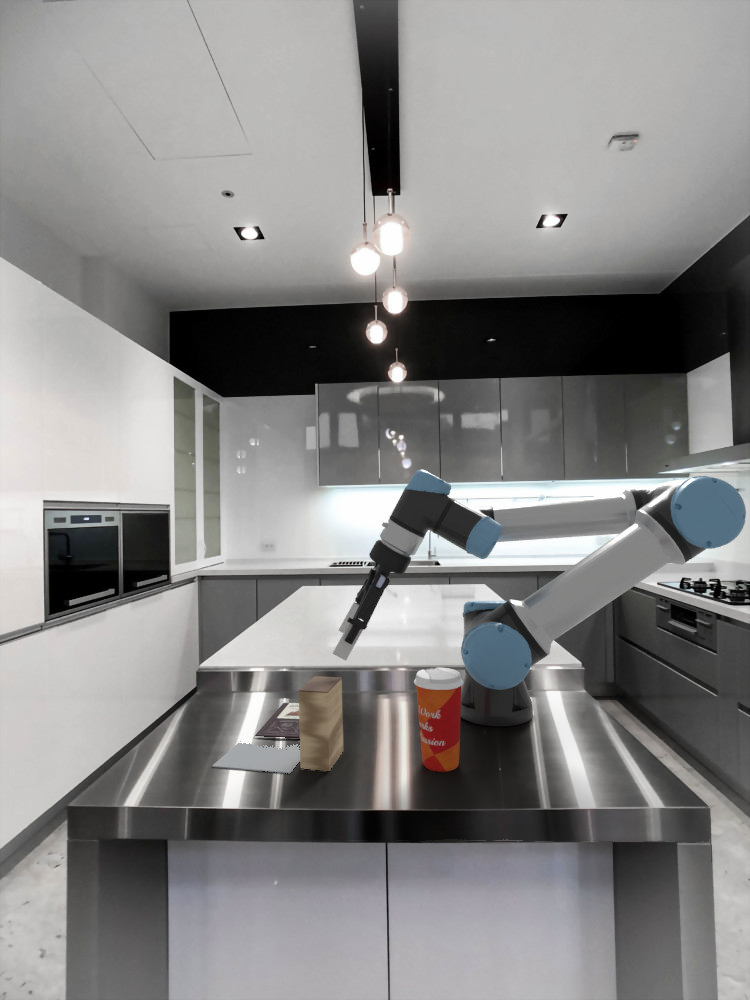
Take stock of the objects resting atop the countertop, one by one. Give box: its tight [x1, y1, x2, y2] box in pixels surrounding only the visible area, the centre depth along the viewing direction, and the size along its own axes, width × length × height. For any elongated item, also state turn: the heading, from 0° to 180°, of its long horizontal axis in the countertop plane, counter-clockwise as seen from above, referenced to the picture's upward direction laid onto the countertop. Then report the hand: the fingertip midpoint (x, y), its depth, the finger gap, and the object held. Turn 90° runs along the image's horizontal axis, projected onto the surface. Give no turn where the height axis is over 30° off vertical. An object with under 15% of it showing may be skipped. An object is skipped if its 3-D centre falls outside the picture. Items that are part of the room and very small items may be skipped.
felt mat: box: [211, 740, 300, 775], centre depth 101 cm, size 14×12×1 cm
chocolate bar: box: [254, 702, 300, 738], centre depth 117 cm, size 9×1×18 cm
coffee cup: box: [413, 667, 464, 773], centre depth 96 cm, size 8×8×15 cm
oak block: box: [298, 675, 344, 772], centre depth 98 cm, size 5×8×13 cm, turn 167°
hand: (341, 644), depth 110 cm, fingers open, 13 cm apart
